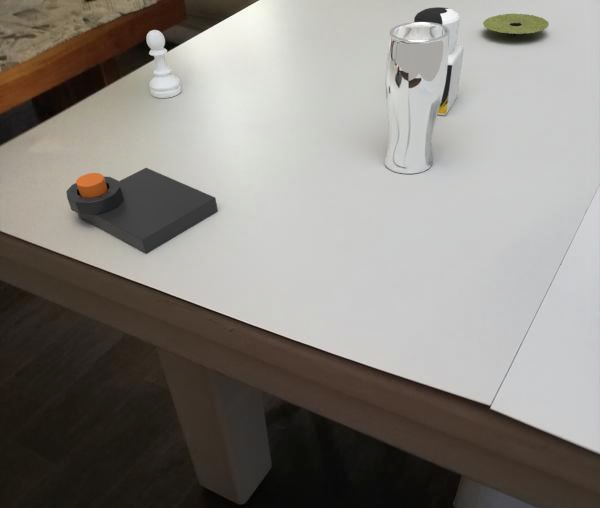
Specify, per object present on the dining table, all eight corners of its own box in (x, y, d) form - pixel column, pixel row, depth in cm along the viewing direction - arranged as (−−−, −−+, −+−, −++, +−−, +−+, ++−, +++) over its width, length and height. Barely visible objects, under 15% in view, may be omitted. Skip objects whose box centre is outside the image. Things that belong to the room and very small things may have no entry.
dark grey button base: (66, 219, 71) (56, 192, 68) (144, 179, 77) (137, 152, 74) (138, 259, 64) (130, 231, 62) (218, 212, 70) (213, 184, 68)
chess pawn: (146, 98, 95) (131, 35, 89) (158, 86, 99) (145, 25, 92) (175, 99, 94) (162, 36, 88) (186, 87, 98) (174, 25, 91)
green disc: (467, 35, 107) (469, 23, 105) (508, 21, 111) (510, 9, 110) (518, 50, 101) (520, 37, 99) (559, 34, 105) (562, 21, 103)
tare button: (74, 193, 69) (70, 180, 68) (97, 182, 70) (93, 170, 69) (90, 201, 67) (86, 189, 66) (113, 190, 69) (109, 177, 68)
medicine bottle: (397, 111, 87) (404, 17, 78) (411, 92, 91) (418, 2, 82) (445, 116, 84) (458, 20, 76) (457, 97, 89) (470, 4, 80)
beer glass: (369, 163, 76) (374, 32, 65) (407, 145, 79) (417, 17, 68) (409, 181, 72) (421, 46, 61) (447, 162, 75) (465, 29, 64)
